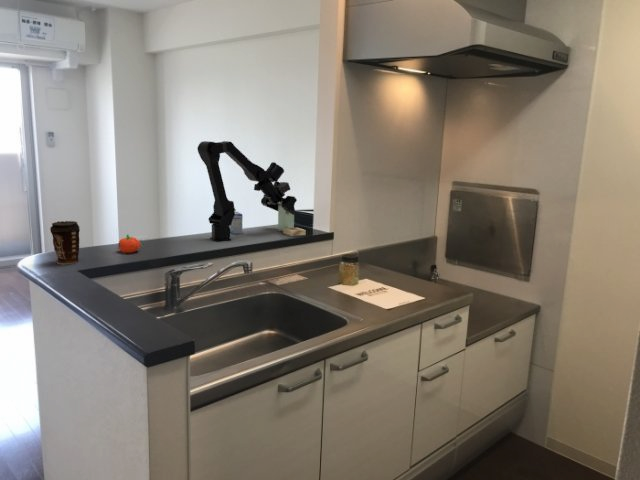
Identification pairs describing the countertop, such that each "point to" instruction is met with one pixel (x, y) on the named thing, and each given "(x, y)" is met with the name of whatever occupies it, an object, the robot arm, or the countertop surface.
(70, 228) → the coffee cup
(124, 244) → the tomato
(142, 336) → the countertop surface
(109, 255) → the countertop surface
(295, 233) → the oak block
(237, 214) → the medicine box
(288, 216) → the tea tin
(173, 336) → the countertop surface
